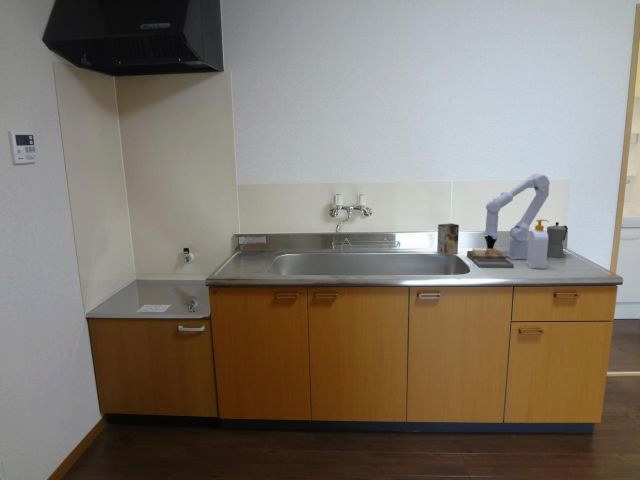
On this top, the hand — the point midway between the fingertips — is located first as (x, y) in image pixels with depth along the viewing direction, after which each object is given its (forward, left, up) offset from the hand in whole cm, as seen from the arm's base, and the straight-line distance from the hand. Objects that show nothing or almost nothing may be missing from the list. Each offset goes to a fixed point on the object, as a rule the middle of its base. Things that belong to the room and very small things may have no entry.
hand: (490, 249), depth 242 cm
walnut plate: (+4, +5, -4) cm, 7 cm away
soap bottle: (-16, +19, -4) cm, 26 cm away
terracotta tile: (0, +4, -1) cm, 4 cm away
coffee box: (+21, -7, -4) cm, 22 cm away
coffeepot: (-35, -4, -4) cm, 36 cm away
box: (+4, +17, -4) cm, 18 cm away
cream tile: (+7, +4, -1) cm, 8 cm away
